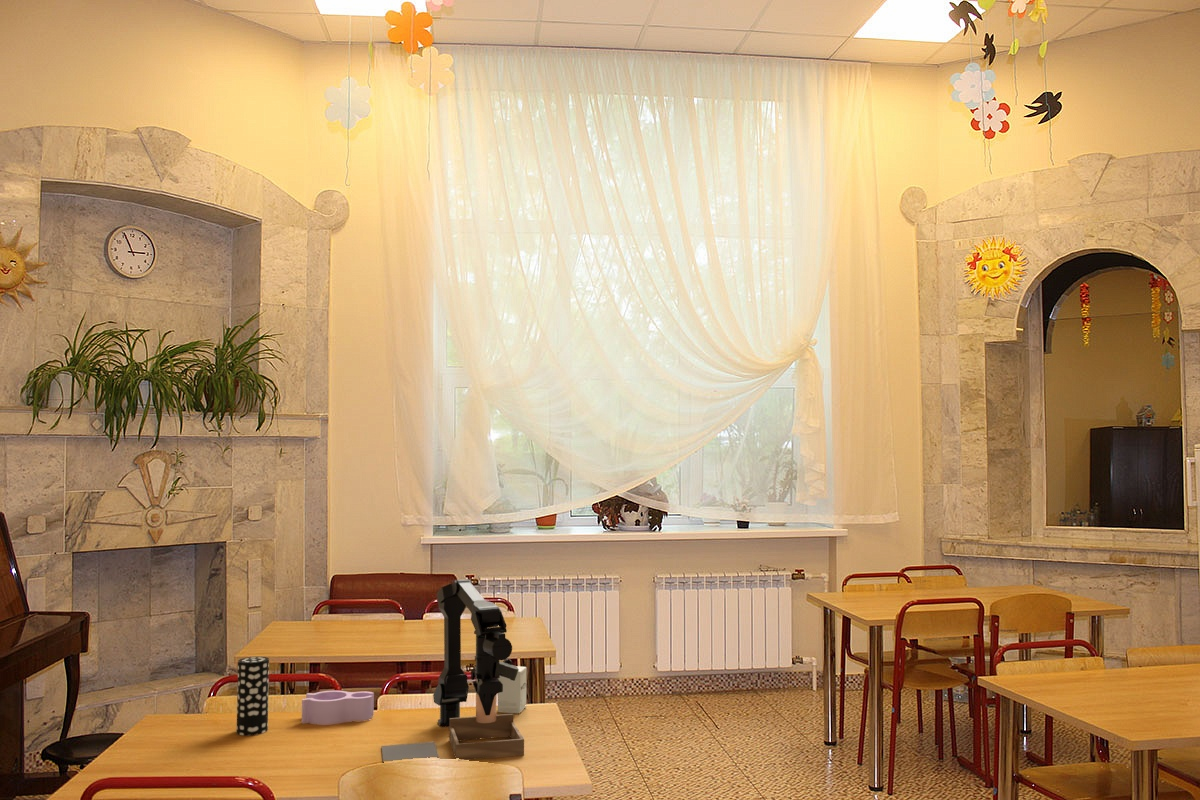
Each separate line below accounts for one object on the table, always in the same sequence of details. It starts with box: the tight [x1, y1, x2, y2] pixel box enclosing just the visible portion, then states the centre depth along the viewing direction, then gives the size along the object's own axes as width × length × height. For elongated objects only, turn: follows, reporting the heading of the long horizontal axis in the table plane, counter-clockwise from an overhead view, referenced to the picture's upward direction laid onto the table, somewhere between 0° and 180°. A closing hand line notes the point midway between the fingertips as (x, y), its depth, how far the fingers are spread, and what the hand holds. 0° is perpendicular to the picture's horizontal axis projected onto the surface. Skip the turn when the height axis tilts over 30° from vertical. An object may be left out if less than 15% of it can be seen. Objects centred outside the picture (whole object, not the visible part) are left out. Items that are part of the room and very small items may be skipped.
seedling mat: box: [381, 741, 440, 763], centre depth 247 cm, size 14×14×1 cm
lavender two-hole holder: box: [301, 690, 375, 726], centre depth 280 cm, size 20×12×7 cm, turn 97°
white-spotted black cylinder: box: [235, 656, 270, 737], centre depth 267 cm, size 8×8×20 cm
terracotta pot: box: [475, 692, 498, 723], centre depth 252 cm, size 6×6×9 cm
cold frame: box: [448, 713, 525, 760], centre depth 252 cm, size 18×18×6 cm
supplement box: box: [497, 665, 528, 714], centre depth 289 cm, size 7×7×13 cm
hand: (486, 712), depth 252 cm, fingers closed on terracotta pot, 5 cm apart
